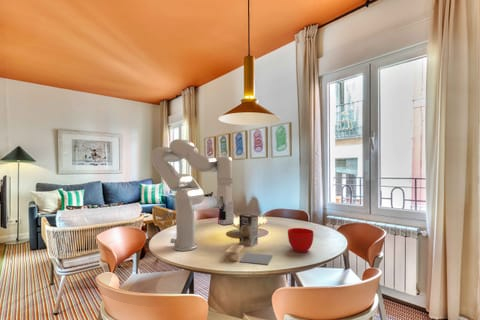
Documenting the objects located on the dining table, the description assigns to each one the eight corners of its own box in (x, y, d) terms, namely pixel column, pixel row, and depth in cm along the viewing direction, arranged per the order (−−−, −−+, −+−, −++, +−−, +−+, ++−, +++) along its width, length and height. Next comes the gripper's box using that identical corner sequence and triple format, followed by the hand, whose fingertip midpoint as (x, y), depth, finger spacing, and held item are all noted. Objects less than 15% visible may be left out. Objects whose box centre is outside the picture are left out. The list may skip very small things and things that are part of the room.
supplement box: (234, 224, 125) (233, 200, 125) (223, 226, 121) (223, 201, 122) (227, 222, 129) (227, 199, 130) (217, 224, 126) (217, 200, 127)
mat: (239, 262, 117) (239, 261, 117) (246, 253, 128) (246, 252, 128) (268, 264, 113) (268, 264, 113) (272, 255, 125) (272, 255, 125)
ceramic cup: (304, 243, 144) (303, 225, 145) (318, 253, 128) (318, 233, 128) (281, 245, 142) (281, 226, 143) (293, 255, 126) (293, 234, 126)
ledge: (225, 260, 119) (225, 251, 119) (232, 252, 130) (232, 244, 130) (237, 261, 118) (237, 252, 118) (244, 253, 128) (243, 245, 128)
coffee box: (238, 243, 146) (238, 214, 147) (246, 240, 151) (246, 213, 152) (251, 246, 140) (250, 216, 141) (258, 243, 145) (258, 215, 145)
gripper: (223, 181, 136) (224, 215, 135) (210, 183, 119) (211, 221, 118) (237, 181, 133) (238, 215, 133) (226, 182, 117) (227, 221, 116)
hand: (225, 217), depth 125 cm, fingers closed on supplement box, 8 cm apart
